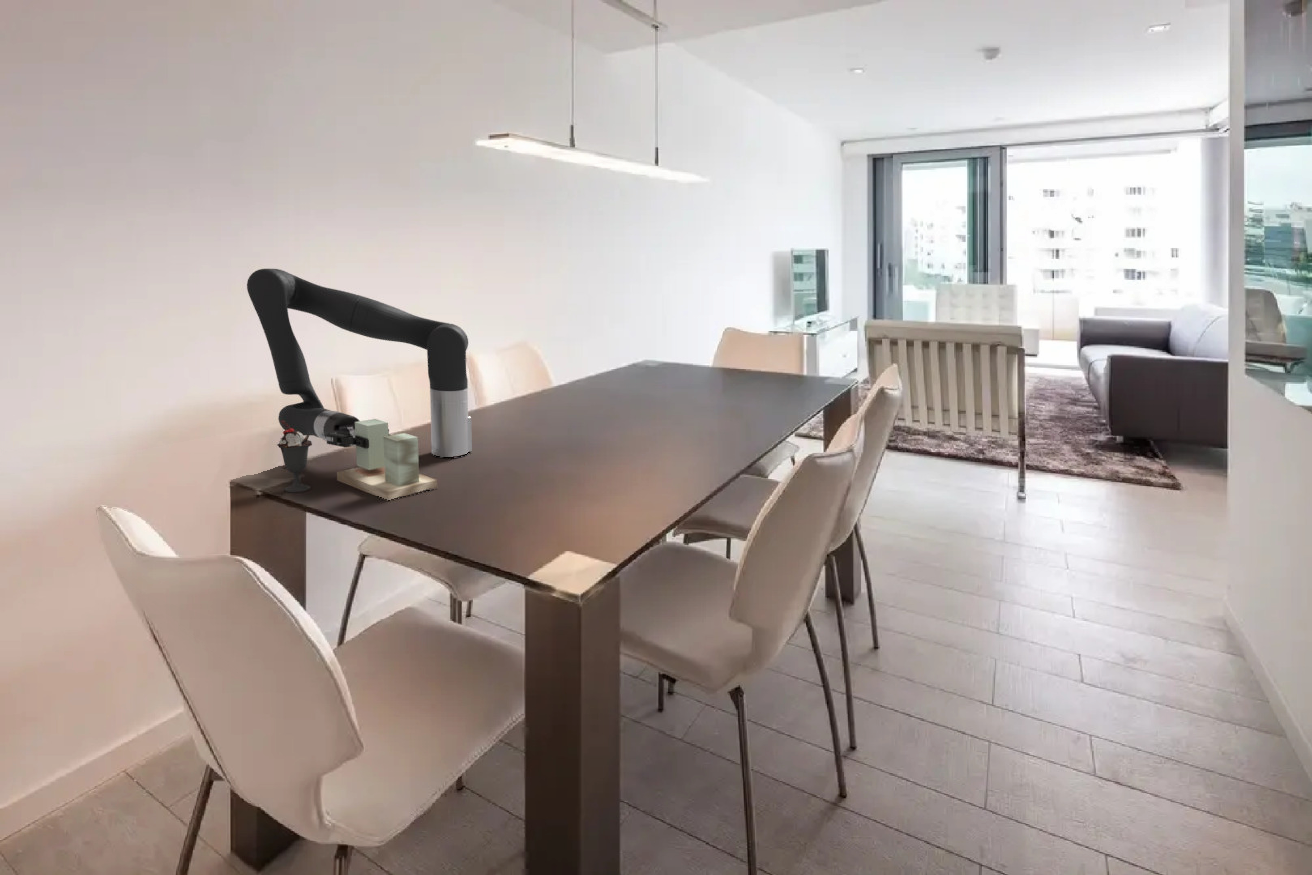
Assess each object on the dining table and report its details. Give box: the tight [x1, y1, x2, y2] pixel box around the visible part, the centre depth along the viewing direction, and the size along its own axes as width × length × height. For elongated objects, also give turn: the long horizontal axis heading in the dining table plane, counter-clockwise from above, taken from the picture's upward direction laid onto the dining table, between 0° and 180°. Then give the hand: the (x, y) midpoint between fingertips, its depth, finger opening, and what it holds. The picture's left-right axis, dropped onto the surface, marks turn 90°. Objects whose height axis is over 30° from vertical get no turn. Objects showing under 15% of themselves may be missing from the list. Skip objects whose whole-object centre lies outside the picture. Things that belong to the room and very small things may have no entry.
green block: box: [355, 418, 389, 470], centre depth 164 cm, size 5×5×10 cm
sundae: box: [276, 421, 313, 493], centre depth 155 cm, size 7×7×15 cm
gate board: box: [336, 432, 438, 501], centre depth 161 cm, size 12×20×12 cm, turn 52°
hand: (378, 441), depth 162 cm, fingers closed on green block, 5 cm apart
